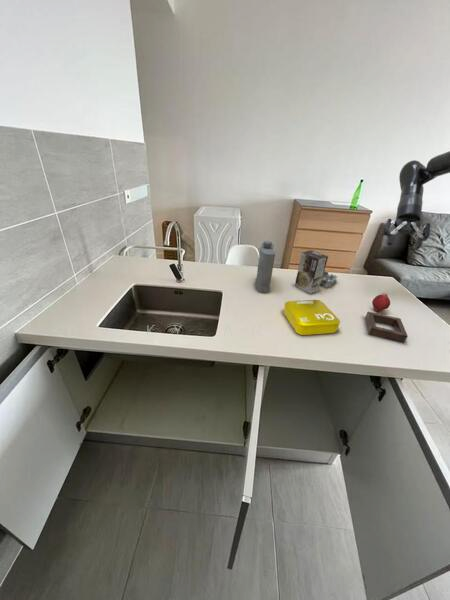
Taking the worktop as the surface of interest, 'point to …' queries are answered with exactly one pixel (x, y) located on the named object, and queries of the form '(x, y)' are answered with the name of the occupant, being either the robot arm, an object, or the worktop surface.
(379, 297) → the onion
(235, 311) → the worktop surface
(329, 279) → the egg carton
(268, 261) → the flask
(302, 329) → the element tile
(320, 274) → the coffee box
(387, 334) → the tray
